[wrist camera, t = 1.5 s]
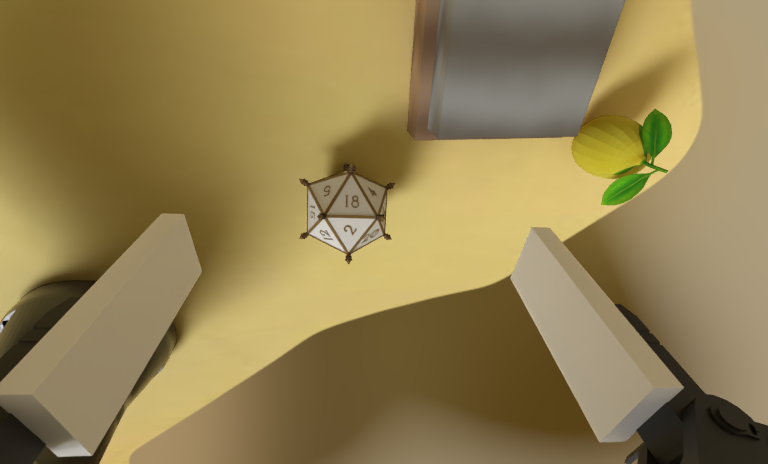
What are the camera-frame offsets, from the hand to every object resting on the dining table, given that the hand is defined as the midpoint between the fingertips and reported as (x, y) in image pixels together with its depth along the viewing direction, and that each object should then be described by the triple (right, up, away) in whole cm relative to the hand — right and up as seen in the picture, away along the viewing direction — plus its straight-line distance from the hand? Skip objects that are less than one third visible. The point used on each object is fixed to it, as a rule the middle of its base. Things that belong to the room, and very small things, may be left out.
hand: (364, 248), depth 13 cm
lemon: (+21, +11, +21) cm, 32 cm away
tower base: (+10, +17, +15) cm, 24 cm away
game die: (-3, +5, +20) cm, 21 cm away
